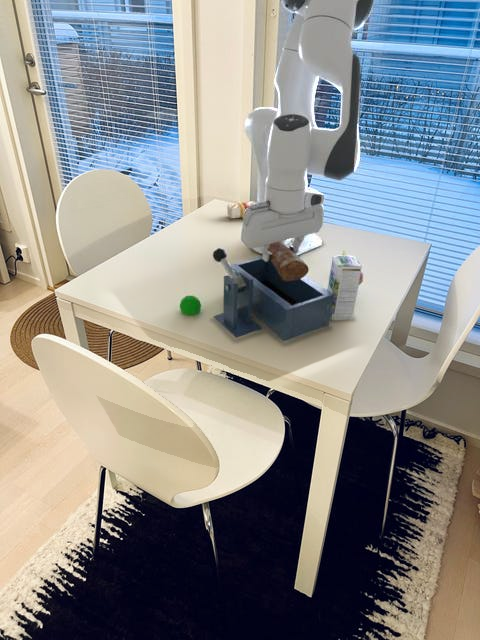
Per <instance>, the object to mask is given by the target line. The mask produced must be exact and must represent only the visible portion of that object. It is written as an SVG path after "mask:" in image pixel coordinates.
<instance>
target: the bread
mask: <svg viewBox="0 0 480 640" xmlns="http://www.w3.org/2000/svg"><path fill="white" fill-rule="evenodd" d="M267 250H268V251H269V252H270V253H272V254H273V255H272V260H271V261H272V263H273V264H274V266H275V268H276V270H277V271H278V273H279V275H280V276H281V278H282V279H283V280H284V281H293V280H299V279H301V278H303V277H304V276H307V274H308V273H309V270H310V269H309V265H307V264H306V263H305V261H304V260H303V259H301V258H300V257H299V255H296V254H295V253H294V252H293V251H292V250H291V249H289V248H288V247H287V246H286V245H285V244H284V243H282V242H281V241H280V242H276V243H272V244H269V248H267Z"/></svg>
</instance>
